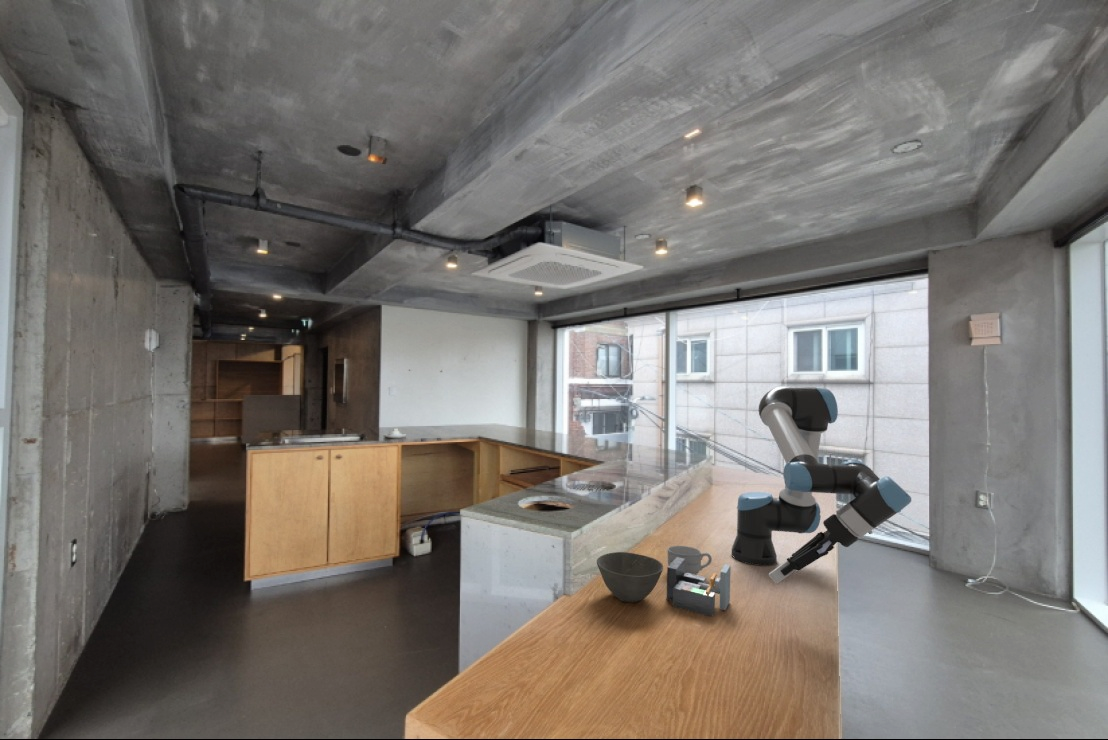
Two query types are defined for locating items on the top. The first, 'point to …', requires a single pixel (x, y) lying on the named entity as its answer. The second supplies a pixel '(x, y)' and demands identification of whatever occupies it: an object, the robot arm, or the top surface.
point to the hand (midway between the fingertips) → (772, 578)
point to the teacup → (688, 558)
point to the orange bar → (711, 582)
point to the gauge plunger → (721, 586)
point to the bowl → (629, 574)
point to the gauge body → (688, 590)
